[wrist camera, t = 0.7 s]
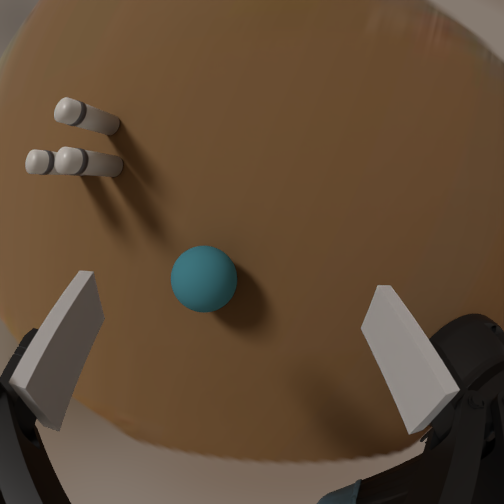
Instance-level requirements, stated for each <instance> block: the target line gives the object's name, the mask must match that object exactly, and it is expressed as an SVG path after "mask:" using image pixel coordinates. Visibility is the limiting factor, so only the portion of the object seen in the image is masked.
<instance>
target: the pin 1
mask: <svg viewBox="0 0 504 504" xmlns="http://www.w3.org/2000/svg"><path fill="white" fill-rule="evenodd" d="M57 153H58V152H51V151H47V150H43V151H42V150H31V151H30V152H29V154H28V156H27V158H26V164H25V165H26V170H27V172H28V173H29V174H40V175H47V174H54V175H70V174H60V173H58V172H57V171H56V169H55V157H56V154H57ZM77 176H83V175H77Z"/></svg>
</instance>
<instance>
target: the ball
mask: <svg viewBox="0 0 504 504" xmlns="http://www.w3.org/2000/svg"><path fill="white" fill-rule="evenodd" d="M171 284H172V289H173V292H174V294H175V296H176V297H177V299H178V300H179V301H180V302H181V303H182V304H183V305H184V306H186V307H187V308H189V309H191V310H194V311H197V312H212V311H215V310H218V309H220V308H221V307H223V306H224V305H226V304H227V303H228V302H229V300H230V299H231V298H232V296H233V295H234V292H235V290H236V286H237V272H236V269H235V266H234V264H233V262H232V261H231V259H230V258H229V257H228V256H227V255H226V254H225V253H224V252H222V251H221V250H219V249H217V248H214V247H210V246H197V247H193V248H191V249H189V250H187V251H185V252H184V253H183V254H182V255H181V256H180V257H179V258H178V259H177V261H176V262H175V264H174V266H173V269H172V273H171Z"/></svg>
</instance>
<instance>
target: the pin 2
mask: <svg viewBox="0 0 504 504" xmlns="http://www.w3.org/2000/svg"><path fill="white" fill-rule="evenodd" d="M54 118H55V120H56V121H57V122H61V123H65V124H67V125H70V126H76V127H80V128H84V129H87V130H91V131H95V132H98V133H102V134H105V135H113V134H114V133H115V132H116V131H117V130H118V128H119V125H120V121H119V118H118V117H117V116H115V115H112V114H110V113H107V112H105V111H102V110H100V109H97V108H95V107H92V106H89V105H87V104H85V103H83V102H80V101H77V100H73V99H71V98H68V97H65V98H63V99H61V100H60V101H59V103H58V104H57V106H56V108H55V111H54Z"/></svg>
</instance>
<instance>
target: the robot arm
mask: <svg viewBox="0 0 504 504" xmlns="http://www.w3.org/2000/svg"><path fill="white" fill-rule="evenodd" d="M104 319H105V318H104V314H103V310H102V306H101V302H100V298H99V294H98V290H97V285H96V281H95V276H94V272H90V271H79V272H78V273H77V275H76V276H75V277H74V279H73V280H72V281H71V283H70V284H69V286H68V287H67V288H66V290H65V291H64V293H63V294H62V295H61V297H60V298H59V300H58V301H57V303H56V304H55V306H54V307H53V308H52V310H51V311H50V313H49V314H48V316H47V317H46V319H45V321H44V322H43V324H42V325H41V327H40V328H39V329H35V328H33V329H32V330H31V331H29V332H28V333H27V334H26V335H25V336H24V337H23V339H22V341H21V342H20V344H19V347H17V349H16V351H15V352H14V353H15V354H13V355H12V357H11V359H10V361H9V362H8V364H7V366H6V368H5V369H4V371H3V373H2V375H1V377H0V504H71V503H70V501H69V499H68V497H67V495H66V493H65V492H64V490H63V488H62V486H61V484H60V482H59V480H58V478H57V475H56V473H55V471H54V469H53V467H52V465H51V462H50V460H49V458H48V455H47V453H46V450H45V448H44V445H43V443H42V440H41V437H40V435H39V432H38V429H37V427H36V426H35V421H36V419H38V420H39V421H40V423H41V424H42V425H43V426H45V427H48V428H51V429H53V430H56V431H60V428H61V425H62V422H63V419H64V416H65V413H66V410H67V407H68V405H69V402H70V399H71V396H72V394H73V391H74V389H75V386H76V383H77V381H78V378H79V376H80V373H81V371H82V368H83V366H84V364H85V361H86V359H87V357H88V354H89V352H90V350H91V347H92V345H93V343H94V341H95V338H96V336H97V334H98V332H99V330H100V328H101V325H102V323H103V321H104ZM361 330H362V332H363V334H364V336H365V338H366V340H367V342H368V344H369V346H370V348H371V350H372V352H373V354H374V357H375V359H376V361H377V363H378V365H379V367H380V369H381V371H382V374H383V376H384V378H385V380H386V382H387V385H388V387H389V389H390V391H391V393H392V396H393V398H394V400H395V403H396V405H397V407H398V409H399V412H400V414H401V417H402V419H403V421H404V424H405V426H406V429H407V431H408V433H409V434H412V433H415V432H418V431H421V430H423V429H424V428H425V427H427V426H428V425H430V426H432V427H433V428H432V429H431V430H429V431H428V432H427V433H426V434H425V435H424V436H423V437H422V438H421V440H420V442H423V441H424V440H425V439H426V438H427V437H428V438H427V441H426V442H425V443H426V445H425V449H424V451H423V453H422V454H420V455H418V456H416V457H414V458H412V459H410V460H408V461H406V462H404V463H402V464H400V465H398V466H395V467H393V468H391V469H389V470H386V471H384V472H381V473H379V474H377V475H374V476H372V477H369V478H366V479H364V480H361V479H360V480H358V481H356V482H355V483H354V484H351V485H349V486H346V487H344V488H341V489H338V490H336V491H333V492H330V493H328V494H327V495H325V496H323V498H321V499H320V500H319V502H318V503H317V504H504V331H503V330H502V328H501V327H500V326H499V325H498V324H497V323H495V322H494V321H493V320H491V319H490V318H488V317H487V316H485V315H481V314H469V315H465V316H462V317H459V318H457V319H455V320H453V321H451V322H450V323H448V324H447V325H445V326H444V327H442V328H441V329H440V330H439V331H438V332H436V333H435V334H434V335H433V336H432V337H431V338H430V339H428V338H427V336H426V335H425V333H424V332H423V330H422V329H421V327H420V326H419V325H418V323H417V322H416V320H415V319H414V317H413V316H412V314H411V313H410V312H409V310H408V309H407V307H406V306H405V305H404V303H403V302H402V301H401V299H400V298H399V296H398V295H397V294H396V292H395V291H394V290H393V288H392V287H391V286H390V285H378V286H377V288H376V291H375V294H374V296H373V299H372V302H371V304H370V307H369V309H368V312H367V314H366V317H365V319H364V322H363V324H362V327H361Z"/></svg>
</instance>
